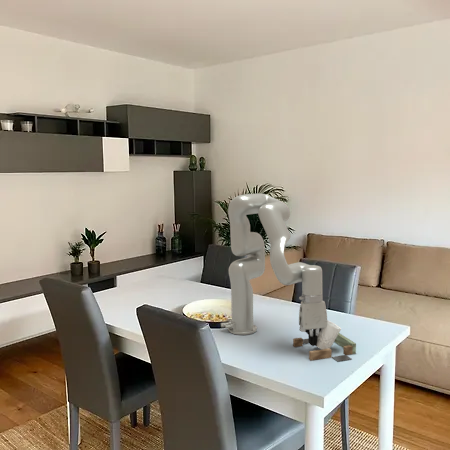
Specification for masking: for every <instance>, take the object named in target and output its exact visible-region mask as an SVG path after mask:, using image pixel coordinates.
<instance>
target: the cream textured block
mask: <svg viewBox="0 0 450 450" xmlns="http://www.w3.org/2000/svg"><path fill="white" fill-rule="evenodd" d="M341 330H342V328H341V327H340V326H339V325H337V324H336V323H334V322H332V321H331V320H328V319H327V326H326V327H324V328H322V329H321V331H320V332H319V335H318V336H317V346H316V347H317V348H318V349H319V350H321V349H328V348H330V349H331V347H332V346H333V344H334V343H335V342H334V341H335V339H336V338H337V336H338V334H339V333H340V332H341Z"/></svg>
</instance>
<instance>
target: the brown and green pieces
mask: <svg viewBox="0 0 450 450" xmlns="http://www.w3.org/2000/svg"><path fill="white" fill-rule="evenodd" d="M334 343H335V344H336V345H338V346H339V347H341V348H342V349H343V351H342V355H335V356H332V352H333V350H332V349H331V347H330V348H328V349H317V350H309V351H308V356H309V357H308V359H309V360H310V361H317V360H323V359H330V358H332V360H334V361H336V362H337V363H339V362H345V361H351V360H353V359H352V358H351V357H350V356H348V355H356V354H357V343H356V342H354V341H353V340H351V339H350V338H348V337H346V336H344V335H343V334H342V333H340V332H339V334H338V336H337V338H336V339H335V341H334ZM305 344H307V345H308V344H309V340H308V338H302V337H295V338H292V346H293V347H294V348H300V347H303V345H305Z"/></svg>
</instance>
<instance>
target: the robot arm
mask: <svg viewBox="0 0 450 450" xmlns="http://www.w3.org/2000/svg"><path fill="white" fill-rule="evenodd" d="M227 209H228V210H227V212H228V220H229V226H230V227H229V229H230V249H231V253H232V254H233V255H234V256H236V257H243V258H240V259H236V260H233V261H232V262H231V263H230V265H229V267H228V276H229V281H230V296H231V297H230V298H231V299H230V300H231V302H230V303H231V308H230V309H231V319H229V321H227V322H220V327H221V328H225V329H227V330H228V332H229V333H231V334H232V335H239V336H241V335H242V336H244V335H245V336H246V335H252V334H254V333H256V332H257V330H258V327H257V326H256V324H254V290H253V286H252V284H251V281H250V280H254V279H256V278H260V277H261V276H262V275H263V274H264V272H265V270H266V252H265V248H266V247H265V241H264V239H263V237H262V235H261V234H260V233H258V232H257V231H255V232H254V231H251V224H250V220H249V218H248V216H247V215H255V214H257V215H258V218H259V220H260V223H261V224H262V227H263V230H264V231H265V234H266V236H267V238H268V240H269V242H270V248H269V261H270V263H269V264H270V265H271V269H272V270H273V273H274V276H275V277H276V279H277V281H278V282H279V283H280V284H282V285H284V286H291V285H294V284H298V283H301V284H302V285H301V288H302V290H301V291H302V292H301V296H298V297H299V298H298V300H299V301H301V302H300V304H299V305H300V306H299V311H298V325H299V330H298V331H299V332H302V333H306V334H307V335H308V337H307V339H308V340H309V343H308V344H309V345H310V346H312V347H317V336H318V335H319V332H320V331H321V329H322V328H324V327H326V326H327V320H328V312H327V307H326V302H325V300H323V297H324V296H323V269H322V267H321V266H320V265H315V264H308V263H305V262H301V261H299V262H294V263H290V264H288V262H287V259H286V256H285V246H286V244H287V243H288V242H289V241H290V240H291V233H290V231H289V229H288V227H287V225H286V221H288V220H289V219H290V216H291V211H290V208H289V206H288V205H287V204H286V203H285V202H283V201H281V200H279V199H277V198H275V197H273V196H271V195H268V194H265V193H246V194H239V195H237V196H235V197H233V198H232V199H231V201H230V202H229V204H228V208H227ZM244 256H246V257H244Z"/></svg>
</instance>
